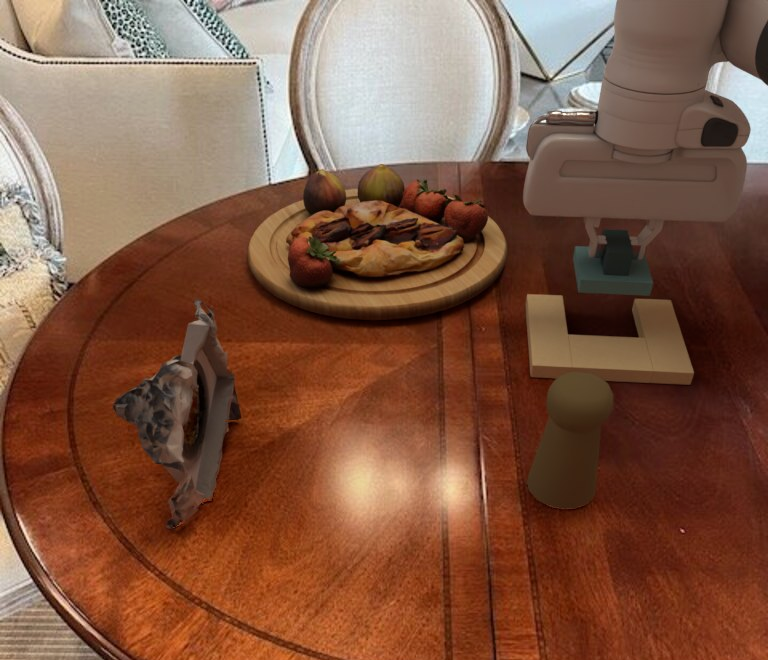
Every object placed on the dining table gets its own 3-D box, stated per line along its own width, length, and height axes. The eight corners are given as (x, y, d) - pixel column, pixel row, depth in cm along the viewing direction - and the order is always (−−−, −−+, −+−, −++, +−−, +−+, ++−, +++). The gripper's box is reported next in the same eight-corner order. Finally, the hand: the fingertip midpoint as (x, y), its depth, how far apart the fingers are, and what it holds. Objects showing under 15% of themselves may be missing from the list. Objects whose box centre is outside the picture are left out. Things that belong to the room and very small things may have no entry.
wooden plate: (352, 361, 82) (349, 289, 76) (201, 249, 100) (189, 184, 94) (560, 265, 96) (571, 199, 90) (395, 182, 114) (395, 122, 108)
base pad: (667, 311, 89) (671, 299, 88) (690, 385, 79) (694, 372, 78) (525, 305, 90) (527, 293, 89) (530, 377, 80) (532, 365, 79)
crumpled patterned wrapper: (200, 418, 75) (173, 297, 66) (243, 421, 75) (222, 299, 66) (150, 531, 65) (110, 406, 56) (201, 535, 65) (169, 410, 55)
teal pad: (640, 261, 84) (649, 225, 81) (650, 296, 79) (659, 259, 76) (572, 258, 85) (579, 223, 82) (578, 292, 80) (585, 256, 77)
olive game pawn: (518, 499, 67) (535, 396, 60) (536, 456, 71) (554, 354, 64) (588, 518, 66) (615, 414, 58) (602, 472, 70) (629, 370, 62)
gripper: (532, 122, 69) (514, 267, 79) (770, 129, 68) (721, 275, 78) (529, 98, 73) (512, 238, 83) (752, 104, 72) (708, 246, 82)
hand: (614, 256), depth 80 cm, fingers closed on teal pad, 2 cm apart
